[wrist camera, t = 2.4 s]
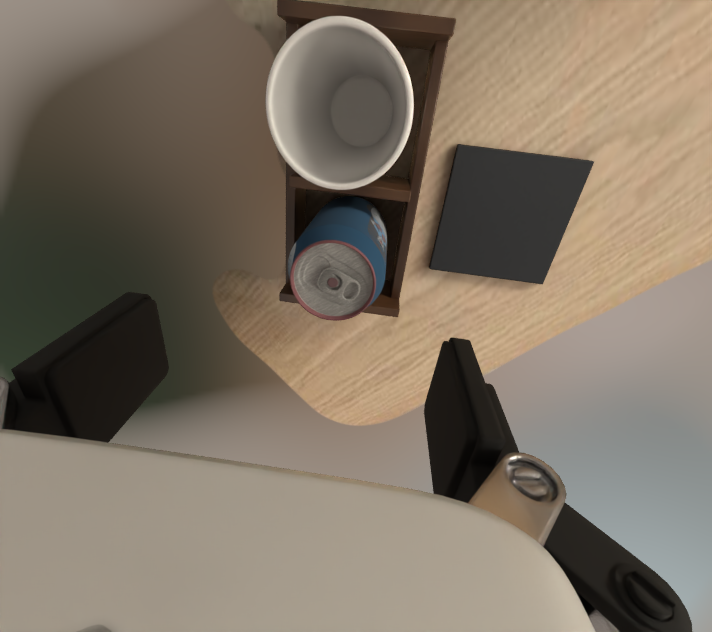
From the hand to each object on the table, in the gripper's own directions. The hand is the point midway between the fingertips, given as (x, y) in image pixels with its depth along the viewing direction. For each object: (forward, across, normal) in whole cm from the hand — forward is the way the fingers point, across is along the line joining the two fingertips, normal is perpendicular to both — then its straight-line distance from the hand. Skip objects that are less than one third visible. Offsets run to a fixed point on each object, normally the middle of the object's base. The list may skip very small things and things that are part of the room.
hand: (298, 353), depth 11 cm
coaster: (+24, -13, 0) cm, 27 cm away
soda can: (+24, 0, +3) cm, 24 cm away
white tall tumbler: (+24, 0, -7) cm, 25 cm away
